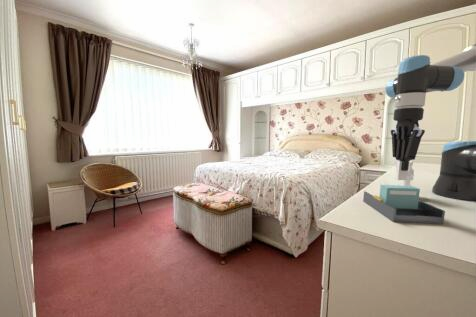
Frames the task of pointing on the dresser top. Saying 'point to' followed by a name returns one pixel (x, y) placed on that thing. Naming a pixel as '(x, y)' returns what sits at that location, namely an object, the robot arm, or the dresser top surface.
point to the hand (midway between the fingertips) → (400, 179)
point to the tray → (406, 211)
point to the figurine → (408, 175)
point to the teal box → (400, 196)
